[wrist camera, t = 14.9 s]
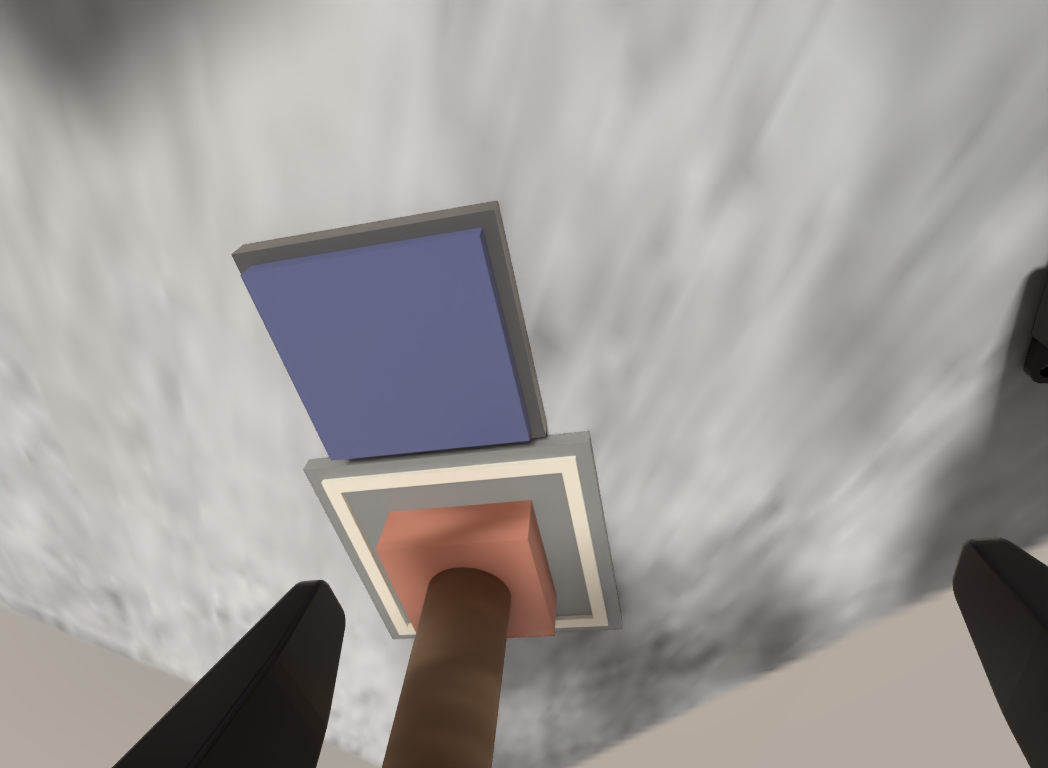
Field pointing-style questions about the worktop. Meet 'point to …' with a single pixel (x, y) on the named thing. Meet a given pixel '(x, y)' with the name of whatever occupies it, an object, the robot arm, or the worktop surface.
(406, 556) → the stamp
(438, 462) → the marked board
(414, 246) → the ink pad
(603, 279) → the worktop surface
